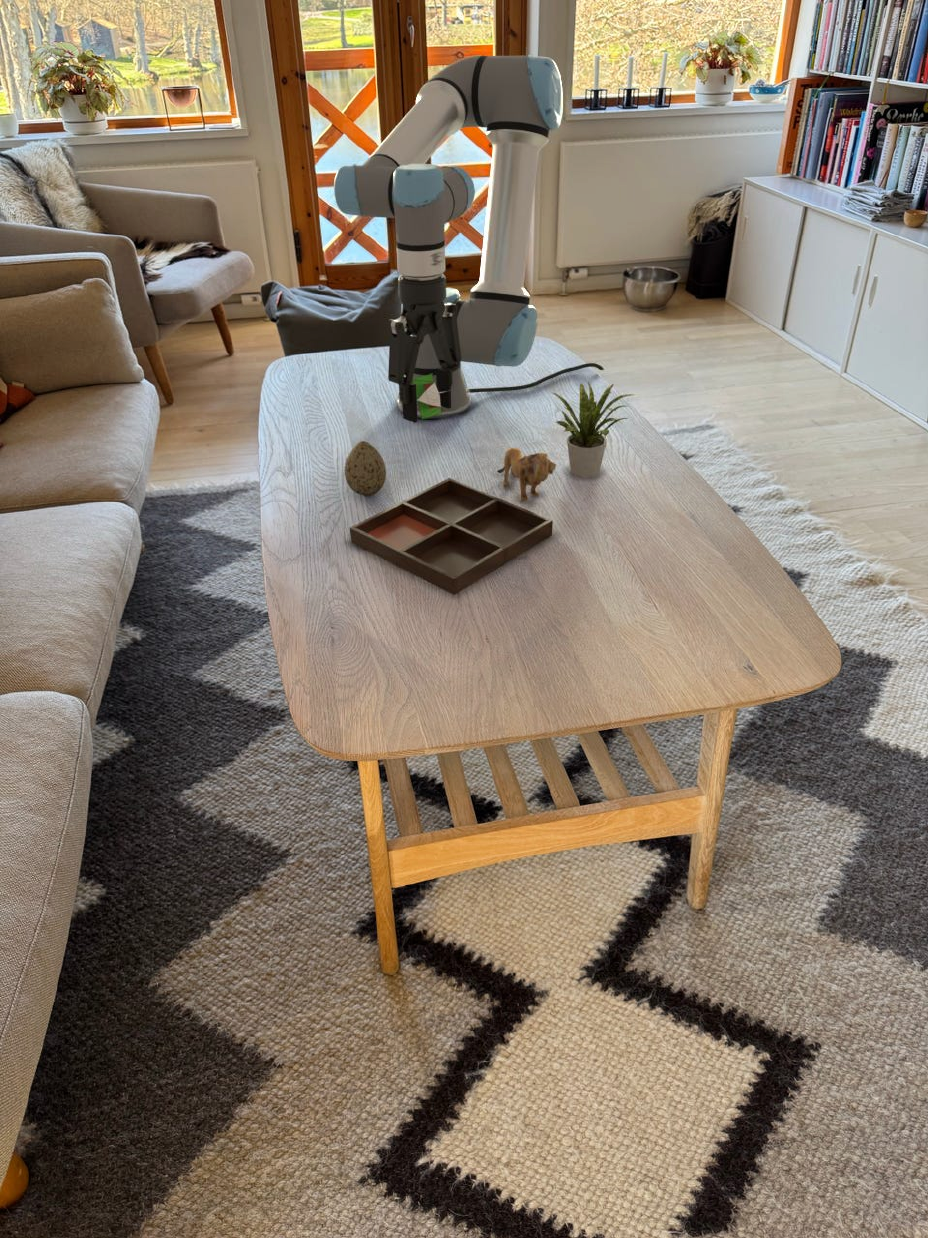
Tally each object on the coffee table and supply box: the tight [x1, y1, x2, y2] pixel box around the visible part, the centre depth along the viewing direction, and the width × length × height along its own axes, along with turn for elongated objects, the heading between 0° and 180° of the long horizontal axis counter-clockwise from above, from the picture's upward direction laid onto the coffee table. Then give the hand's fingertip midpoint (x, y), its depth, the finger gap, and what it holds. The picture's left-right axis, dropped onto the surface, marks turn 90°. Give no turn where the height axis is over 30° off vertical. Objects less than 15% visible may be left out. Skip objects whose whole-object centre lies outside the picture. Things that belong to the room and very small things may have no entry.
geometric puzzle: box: [412, 374, 450, 420], centre depth 159 cm, size 7×7×8 cm
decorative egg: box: [344, 440, 387, 497], centre depth 163 cm, size 7×7×10 cm
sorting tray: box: [349, 477, 554, 596], centre depth 152 cm, size 23×23×3 cm
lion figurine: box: [496, 446, 557, 502], centre depth 163 cm, size 15×5×9 cm, turn 34°
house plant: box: [550, 381, 634, 479], centre depth 166 cm, size 14×14×16 cm
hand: (427, 412), depth 161 cm, fingers closed on geometric puzzle, 7 cm apart
